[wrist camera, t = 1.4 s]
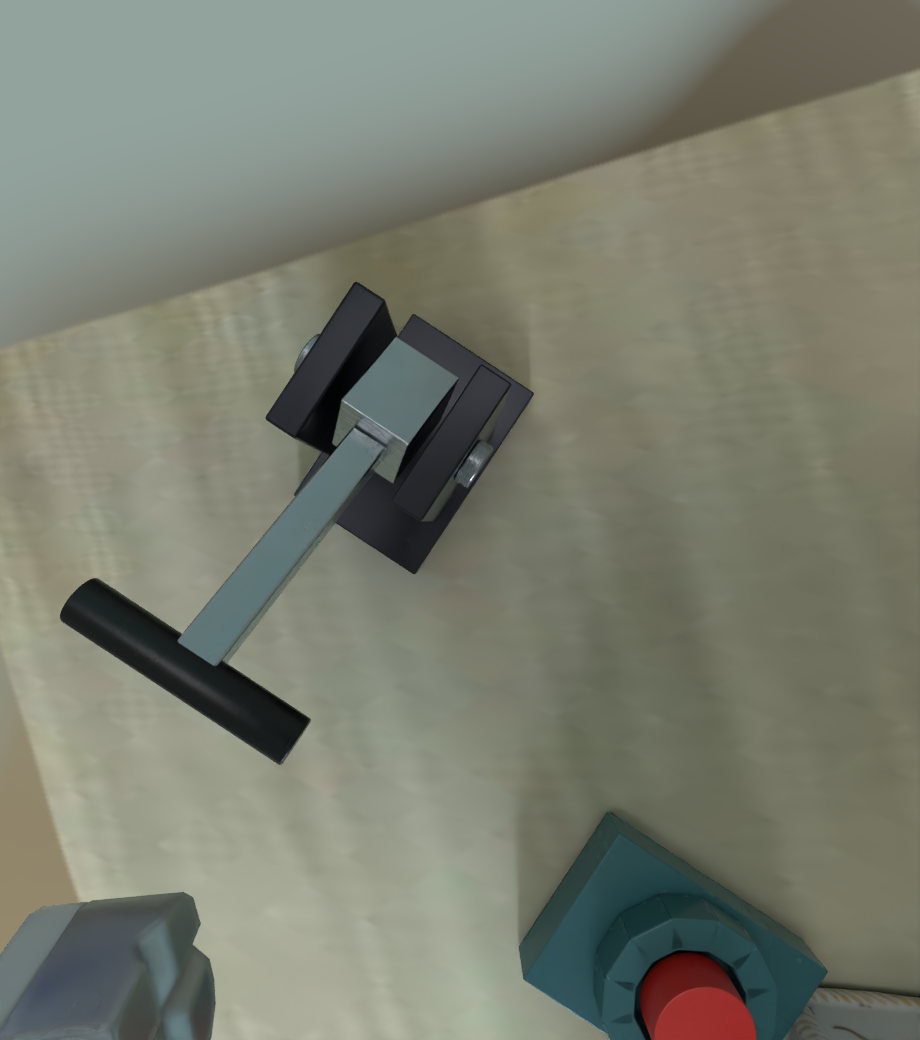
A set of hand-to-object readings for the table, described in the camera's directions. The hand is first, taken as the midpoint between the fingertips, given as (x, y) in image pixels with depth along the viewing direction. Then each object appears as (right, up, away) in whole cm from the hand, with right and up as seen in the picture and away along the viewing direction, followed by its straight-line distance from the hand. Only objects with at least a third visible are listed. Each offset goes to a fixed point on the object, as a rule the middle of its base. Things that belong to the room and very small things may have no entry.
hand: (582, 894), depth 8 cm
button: (+7, -14, +20) cm, 25 cm away
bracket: (-3, +7, +23) cm, 24 cm away
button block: (+7, -14, +23) cm, 28 cm away
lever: (-5, +4, +12) cm, 14 cm away
